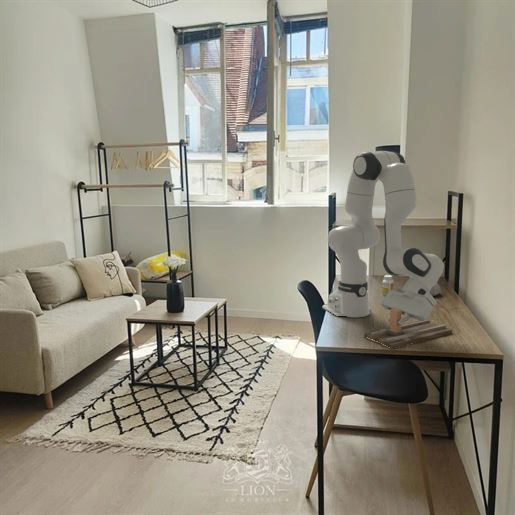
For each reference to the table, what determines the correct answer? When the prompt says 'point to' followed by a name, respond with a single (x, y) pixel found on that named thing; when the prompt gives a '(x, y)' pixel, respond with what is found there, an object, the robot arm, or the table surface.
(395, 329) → the fader tab
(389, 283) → the supplement bottle
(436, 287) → the sea urchin shell
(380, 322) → the table surface
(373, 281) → the table surface
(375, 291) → the table surface
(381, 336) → the track board
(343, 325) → the table surface
